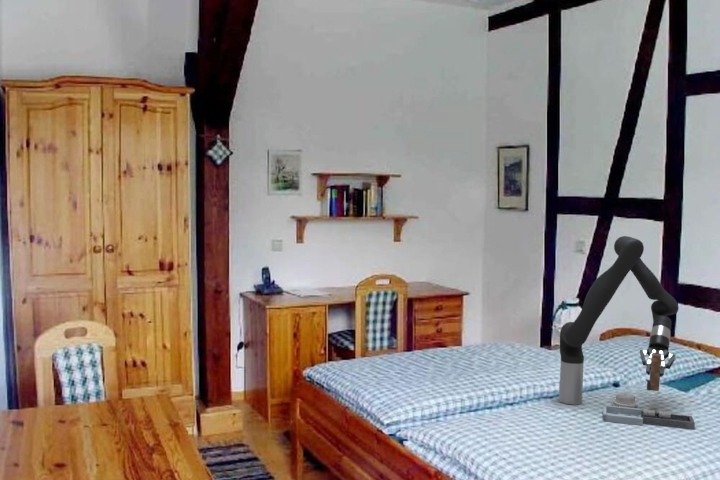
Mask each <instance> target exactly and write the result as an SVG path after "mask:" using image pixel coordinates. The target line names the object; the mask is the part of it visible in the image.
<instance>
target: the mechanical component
mask: <svg viewBox="0 0 720 480" xmlns="http://www.w3.org/2000/svg"><path fill="white" fill-rule="evenodd" d="M611 403H612V404H613V406H620V407H627V408H634V407H636V408H638V407H639V402H637V401H636V395H634V394H631V393H627V392H619V393H616V394H615V398H614V399H612V402H611ZM637 406H638V407H637Z"/></svg>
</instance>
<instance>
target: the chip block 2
mask: <svg viewBox="0 0 720 480" xmlns="http://www.w3.org/2000/svg"><path fill="white" fill-rule="evenodd" d="M657 412H658V418H662V419H670V416H671V415H670V414H671V412H670V411H665V410H664V411H663V410H657Z"/></svg>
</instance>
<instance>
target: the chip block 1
mask: <svg viewBox="0 0 720 480" xmlns="http://www.w3.org/2000/svg"><path fill="white" fill-rule="evenodd" d="M642 411H643V417H653V418H655V412H656V411H655V410H654V409H645V408H644V409H642Z"/></svg>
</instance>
